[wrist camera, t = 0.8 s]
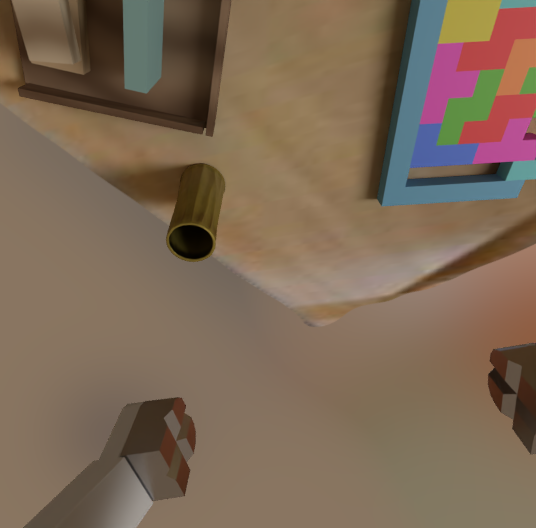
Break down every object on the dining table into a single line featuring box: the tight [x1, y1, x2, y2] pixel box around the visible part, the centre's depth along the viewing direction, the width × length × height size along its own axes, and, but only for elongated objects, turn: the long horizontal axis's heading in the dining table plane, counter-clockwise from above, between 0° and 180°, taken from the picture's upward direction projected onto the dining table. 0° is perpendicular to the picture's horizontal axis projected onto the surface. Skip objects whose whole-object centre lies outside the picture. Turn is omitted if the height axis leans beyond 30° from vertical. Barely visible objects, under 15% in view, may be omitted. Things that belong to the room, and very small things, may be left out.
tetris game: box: [377, 0, 536, 206], centre depth 42 cm, size 28×3×28 cm
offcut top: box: [12, 0, 81, 64], centre depth 33 cm, size 6×4×2 cm, turn 175°
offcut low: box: [31, 0, 91, 75], centre depth 34 cm, size 8×5×2 cm, turn 167°
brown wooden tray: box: [11, 0, 231, 137], centre depth 35 cm, size 18×21×4 cm
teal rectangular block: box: [123, 0, 164, 94], centre depth 33 cm, size 9×2×8 cm, turn 167°
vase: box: [166, 164, 225, 262], centre depth 43 cm, size 6×6×14 cm
